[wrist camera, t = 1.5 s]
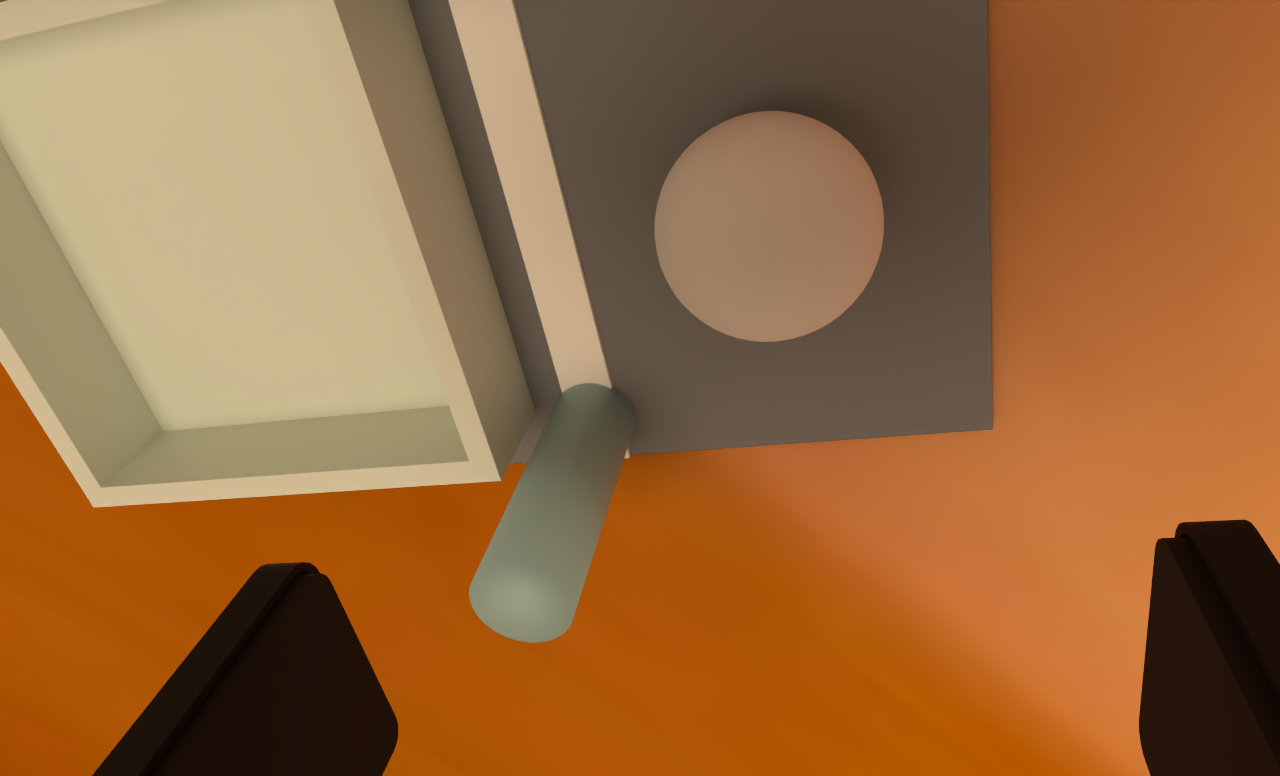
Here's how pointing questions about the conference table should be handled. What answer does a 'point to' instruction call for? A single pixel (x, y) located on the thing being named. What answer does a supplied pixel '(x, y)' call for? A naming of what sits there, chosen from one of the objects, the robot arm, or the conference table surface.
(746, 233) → the ball
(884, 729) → the conference table surface
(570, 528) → the post
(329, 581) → the robot arm
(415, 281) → the tray
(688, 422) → the mat
